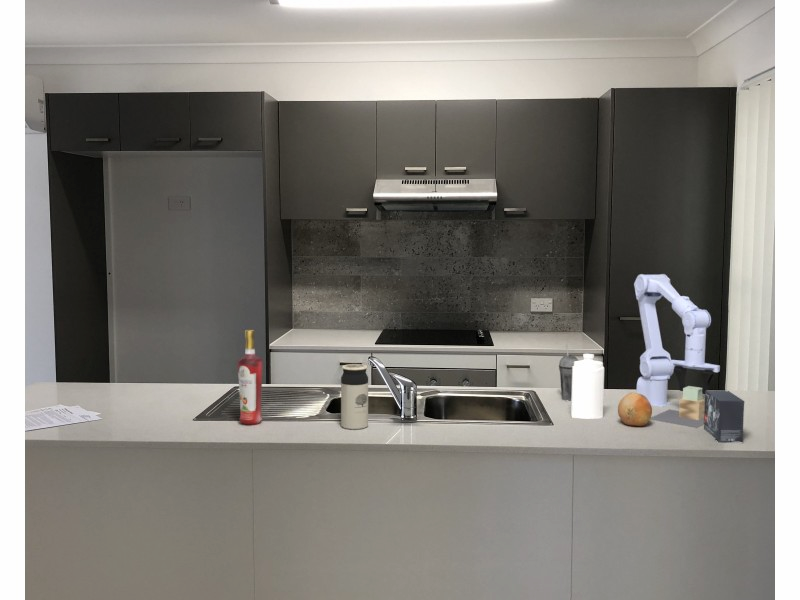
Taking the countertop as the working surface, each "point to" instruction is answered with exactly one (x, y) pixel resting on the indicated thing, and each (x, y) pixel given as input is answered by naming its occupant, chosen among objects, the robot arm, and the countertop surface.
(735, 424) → the small box
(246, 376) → the liquor
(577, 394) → the squeeze bottle
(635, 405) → the onion
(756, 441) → the countertop surface
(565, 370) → the beverage cup
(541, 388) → the countertop surface
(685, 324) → the robot arm
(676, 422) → the mat
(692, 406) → the oak slab upper
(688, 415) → the oak slab lower
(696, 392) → the sage block
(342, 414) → the travel mug
